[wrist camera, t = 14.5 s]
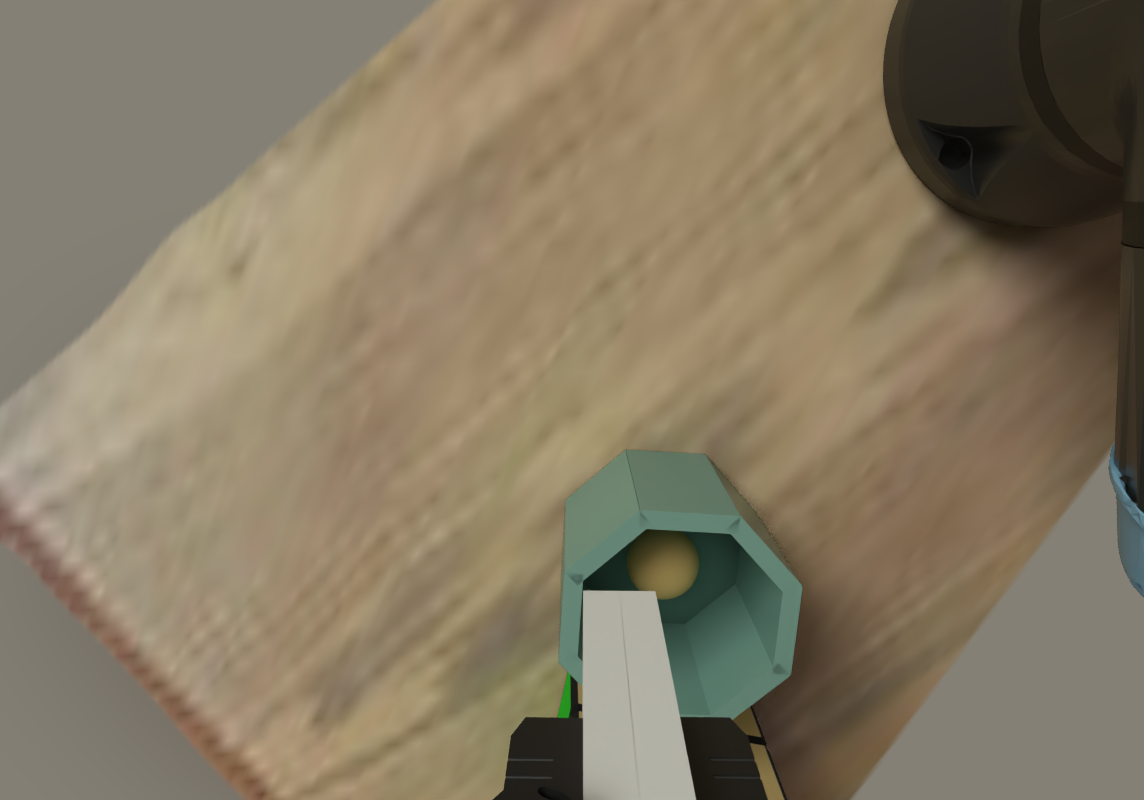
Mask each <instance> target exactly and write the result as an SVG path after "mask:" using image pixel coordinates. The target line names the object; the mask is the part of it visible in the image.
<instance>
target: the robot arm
mask: <svg viewBox="0 0 1144 800" xmlns="http://www.w3.org/2000/svg"><path fill="white" fill-rule="evenodd" d="M883 83H884V95H885V103H886V108H887V113H888V117H889V121H890V125H891V127H892V130H893V133H894V136H895V138H896V141H897V143H898V145H899V147H900V149H901V151H902V153H903V155H904V157H905V158H906V160H907V162H908V163H909V165H910V166H911V168H912V169H913V170H914V172H915V173H916V174H917V176H918V177H919V178H920V179H921V180H922V181H923V182H924V183H925V185H926V186H928V187H929V188H930V189H931V190H932V191H933V192H934V193H935V194H936V195H938V196H939V197H940V198H941V199H943V200H944V201H946V202H947V203H949V204H950V205H952V206H953V207H955V208H957V209H959V210H960V211H962V212H964V213H967V214H969V215H971V216H973V217H976V218H979V219H982V220H985V221H989V222H992V223H997V224H1003V225H1010V226H1031V227H1053V226H1066V225H1074V224H1079V223H1084V222H1088V221H1092V220H1096V219H1099V218H1103V217H1106V216H1109V215H1112V214H1115V213H1117V212H1119V211H1122V210H1123V225H1122V242H1121V254H1120V304H1119V354H1118V383H1117V406H1116V429H1115V443H1114V444H1113V446H1112V450H1111V454H1110V460H1109V474H1110V479H1111V482H1112V485H1113V487H1114V490H1115V492H1116V499H1117V528H1118V529H1117V531H1118V548H1119V554H1120V558H1121V562H1122V565H1123V567H1124V570H1125V572H1126V574H1127V576H1128V578H1129V580H1130V582H1131V583H1132V585H1133V587H1134V588H1135V589H1136V590H1137V591H1138V592H1139V593H1140V594H1141V595H1142V596H1143V597H1144V0H898V3H897V5H896V8H895V10H894V14H893V17H892V20H891V23H890V27H889V31H888V35H887V40H886V46H885V54H884V66H883ZM493 800H768V798H767V795H766V792H765V789H764V786H763V783H762V780H760V773H759V770H758V767H757V764H756V762H755V757H754V754H753V751H752V748H751V745H750V742H749V739H748V736H747V735H746V734H745V733H744V732H743V731H742V730H741V729H740V728H739V727H738V725H737V724H736V723H735V722H734V721H733V720H732V719H731V718H730V717H680V715H679V710H678V704H677V699H676V694H675V689H674V684H673V679H672V674H671V668H670V663H669V658H668V653H667V648H666V643H665V638H664V633H663V627H662V622H661V617H660V612H659V607H658V602H657V597H656V592H655V591H583V683H582V718H541V717H526V718H525V719H524V720H523V721H522V723H521V724H520V725H519V726H518V728H517V729H516V730H515V732H514V733H513V734H512V735H511V740H510V748H509V755H508V762H507V769H506V779H505V784H504V790H503V791H502V792H501V793H500V794H499V795H497V796H496V797H495V798H494V799H493Z"/></svg>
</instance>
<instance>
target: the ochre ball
mask: <svg viewBox="0 0 1144 800" xmlns="http://www.w3.org/2000/svg"><path fill="white" fill-rule="evenodd" d="M627 570H628V574H629V577H630V579H631V581H632V582H633V584H634V585H635V586H636V588H637V589H638V590H640V591H655V592H656V597H657V599H661V600H665V599H672V598H675V597H678V596H680V595H682V594H683V593H685V592H686V591H687V590H688V589H689V588H690V587H691V586H692V585H693V583H694V581H695V579H696V577H697V574H698V570H699V557H698V553H697V550H696V548H695V546H694V544H693V543H692V541H691V540H690V539H689V538H688V537H687V536H686V535H685V534H684V533H682V532H681V531H673V530H655V529H647V530H645V531H643V532H642V533H641V534H640V535H638V536H637V537H636V538H635V539H634V541H633V542H632V544H631V546H630V548H629V550H628V554H627Z"/></svg>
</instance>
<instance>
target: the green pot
mask: <svg viewBox="0 0 1144 800" xmlns="http://www.w3.org/2000/svg"><path fill="white" fill-rule="evenodd" d="M647 529H655V530H673V531H681V532H682V533H684V534H685V535H686V536H687V537H688V538H689V539H690V540H691V541H692V543H693V544H694V546H695V548H696V550H697V553H698V557H699V570H698V574H697V577H696V579H695V581H694V583H693V585H692V586H691V587H690V588H689V589H688V590H687V591H686V592H685V593H683V594H682V595H680V596H678V597H675V598H672V599H665V600H661V599H657V602H658V607H659V612H660V617H661V622H662V627H663V633H664V638H665V643H666V648H667V653H668V658H669V663H670V668H671V674H672V679H673V684H674V689H675V694H676V699H677V704H678V710H679V715H680V717H730V718H731V719H732V720H733V719H734V718H735V717H737V716H738V715H739V714H741V713H742V712H743V711H745V710H746V709H747V708H749V707H750V706H751V705H753V704H754V703H755V702H757V701H758V700H759V699H760V698H762V697H763V696H764V695H766V694H767V693H768V692H770V691H771V690H772V689H774V688H775V687H776V686H778V685H779V684H780V683H782V682H783V681H784V680H785V679H787V678H788V677H789V676H790V675H791V671H792V663H793V656H794V648H795V641H796V633H797V626H798V618H799V611H800V603H801V596H802V588H803V586H802V584H801V583H800V581H799V580H798V578H797V576H796V575H795V573H794V572H793V570H792V568H791V567H790V565H789V564H788V562H787V561H786V559H785V557H784V556H783V554H782V553H781V551H780V549H779V548H778V546H777V545H776V543H775V542H774V540H773V538H772V537H771V535H770V534H769V532H768V531H767V529H766V527H765V526H764V524H763V523H762V521H761V519H760V518H759V516H758V515H757V513H756V512H755V510H754V509H753V508H752V507H751V506H750V505H749V503H748V502H747V501H746V500H745V499H744V498H743V497H742V495H741V494H740V493H739V492H738V491H737V490H736V489H735V488H734V486H733V485H732V484H731V483H730V482H729V481H728V480H727V478H726V477H725V476H724V475H723V474H722V473H721V472H720V470H719V469H718V468H717V467H716V466H715V465H714V464H713V463H712V461H711V460H710V459H709V458H708V457H707V456H706V455H705V454H692V453H675V452H658V451H641V450H624V451H623V452H622V453H621V454H620V455H618V456H617V457H616V458H615V459H614V460H612V461H611V462H610V463H609V464H608V465H607V466H605V467H604V468H603V469H602V470H601V471H599V472H598V473H597V474H596V475H595V476H593V477H592V478H591V479H590V480H589V481H587V482H586V483H585V484H584V485H583V486H582V487H580V488H579V489H578V490H577V491H576V492H574V493H573V494H572V495H571V496H570V497H568V498H567V499H566V501H565V516H564V532H563V548H562V563H561V587H560V624H559V661H558V662H559V664H560V665H561V666H562V667H563V668H564V669H565V670H566V671H567V672H568V673H569V674H570V675H571V676H572V677H573V678H574V679H575V680H576V681H577V682H578V683H579V684H580V685H581V686H582V683H583V591H640V590H638V589H637V588H636V586H635V585H634V584H633V582H632V581H631V579H630V577H629V574H628V570H627V554H628V550H629V548H630V546H631V544H632V542H633V541H634V539H635V538H636V537H637V536H638V535H640V534H641V533H642V532H643V531H645V530H647Z"/></svg>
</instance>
